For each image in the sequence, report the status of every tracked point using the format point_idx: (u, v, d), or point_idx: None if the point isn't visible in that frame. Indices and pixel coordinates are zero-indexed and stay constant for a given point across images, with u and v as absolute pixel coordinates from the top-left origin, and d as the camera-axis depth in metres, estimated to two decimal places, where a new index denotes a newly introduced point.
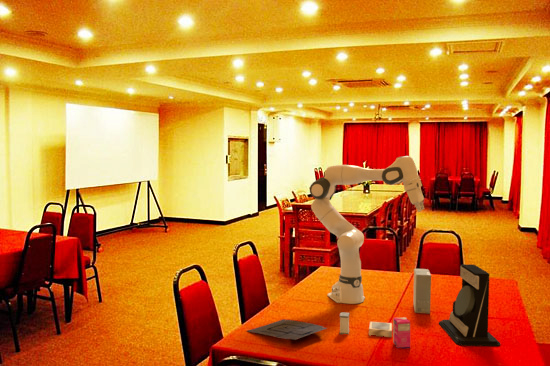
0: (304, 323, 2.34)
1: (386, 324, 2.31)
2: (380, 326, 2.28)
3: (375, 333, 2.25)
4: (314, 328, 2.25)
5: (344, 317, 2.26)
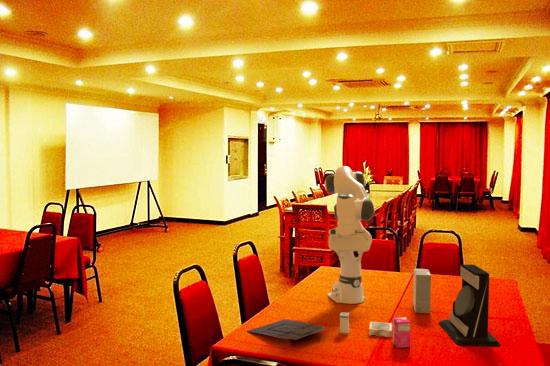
0: (304, 323, 2.34)
1: (386, 324, 2.31)
2: (380, 326, 2.28)
3: (375, 333, 2.25)
4: (314, 328, 2.25)
5: (344, 317, 2.26)
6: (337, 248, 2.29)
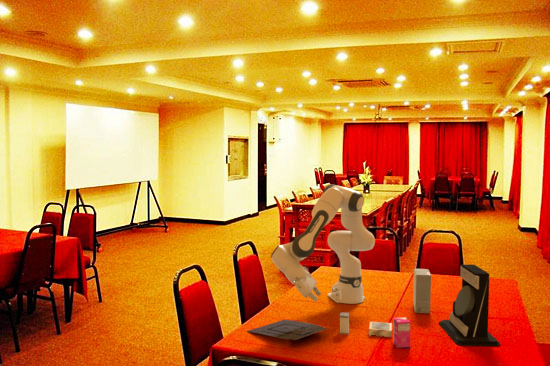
0: (305, 323, 2.34)
1: (386, 324, 2.31)
2: (380, 326, 2.28)
3: (375, 333, 2.25)
4: (314, 328, 2.24)
5: (344, 317, 2.26)
6: None
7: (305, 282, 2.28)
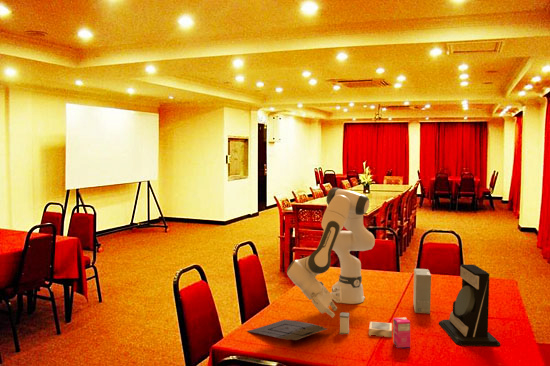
0: (305, 323, 2.34)
1: (386, 324, 2.31)
2: (380, 326, 2.28)
3: (375, 333, 2.25)
4: (315, 328, 2.24)
5: (344, 317, 2.26)
6: None
7: (322, 297, 2.27)
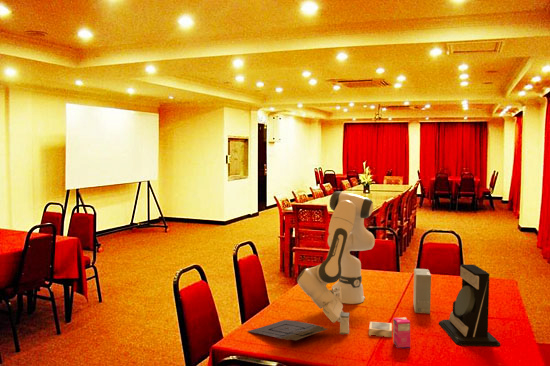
0: (305, 324, 2.34)
1: (386, 324, 2.31)
2: (380, 326, 2.28)
3: (375, 333, 2.25)
4: (315, 329, 2.24)
5: (344, 317, 2.26)
6: None
7: (332, 307, 2.26)
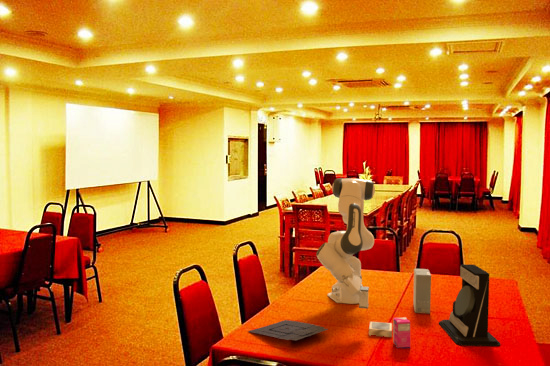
0: (306, 324, 2.33)
1: (386, 324, 2.31)
2: (380, 326, 2.28)
3: (375, 333, 2.25)
4: (315, 329, 2.23)
5: (364, 291, 2.26)
6: None
7: (352, 280, 2.25)
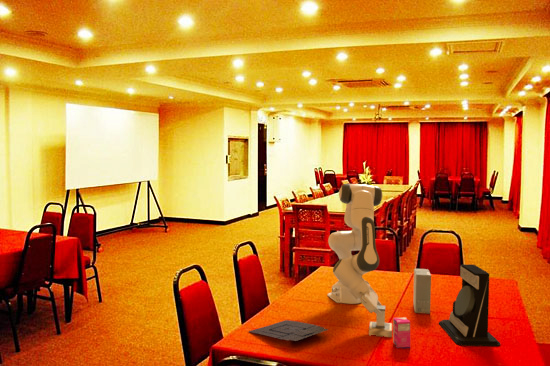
0: (306, 324, 2.33)
1: (386, 324, 2.31)
2: None
3: (375, 333, 2.25)
4: (316, 329, 2.23)
5: (381, 310, 2.26)
6: None
7: (369, 297, 2.26)
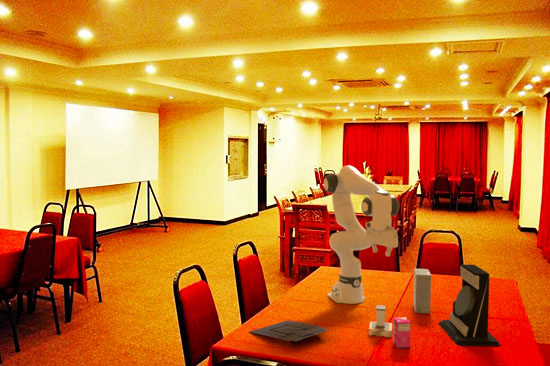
0: (307, 324, 2.32)
1: (386, 324, 2.31)
2: None
3: (375, 333, 2.25)
4: (316, 330, 2.23)
5: (381, 310, 2.26)
6: (371, 241, 2.40)
7: None
